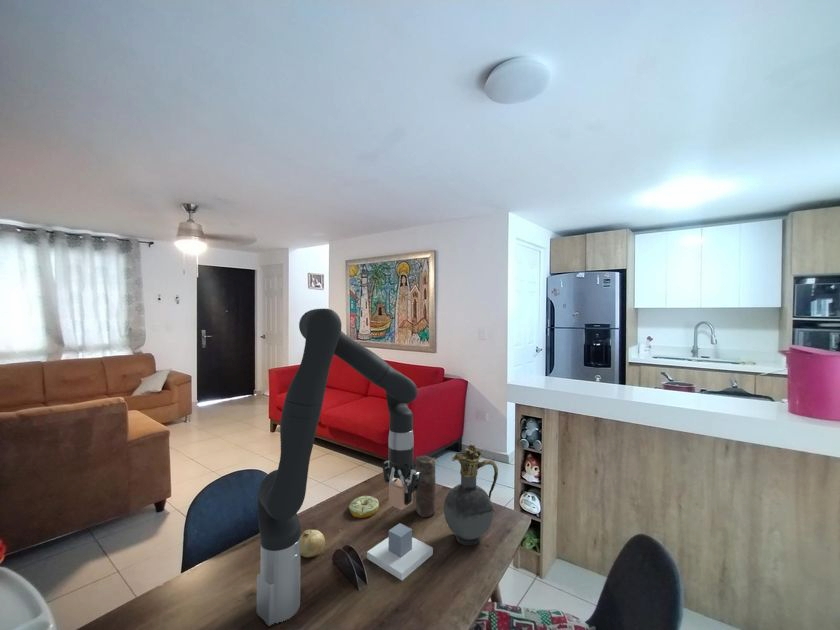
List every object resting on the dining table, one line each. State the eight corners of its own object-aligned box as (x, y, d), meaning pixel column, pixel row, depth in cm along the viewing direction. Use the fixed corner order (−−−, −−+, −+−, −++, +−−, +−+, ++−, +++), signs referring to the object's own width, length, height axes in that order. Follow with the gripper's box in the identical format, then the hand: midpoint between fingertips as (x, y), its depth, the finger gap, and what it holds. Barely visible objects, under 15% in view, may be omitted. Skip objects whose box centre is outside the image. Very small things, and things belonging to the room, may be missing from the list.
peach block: (401, 510, 105) (401, 489, 105) (388, 504, 108) (389, 484, 108) (412, 503, 109) (412, 483, 109) (400, 497, 112) (400, 478, 112)
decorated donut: (343, 512, 133) (343, 502, 133) (365, 500, 141) (365, 491, 141) (362, 523, 126) (362, 512, 126) (384, 510, 134) (384, 500, 134)
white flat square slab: (402, 580, 99) (402, 573, 99) (366, 558, 108) (367, 551, 108) (432, 554, 110) (432, 547, 110) (398, 536, 118) (398, 530, 118)
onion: (312, 541, 116) (312, 519, 115) (330, 550, 111) (330, 527, 111) (291, 555, 109) (292, 532, 109) (310, 565, 105) (310, 541, 105)
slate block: (400, 557, 105) (401, 537, 105) (388, 550, 108) (388, 530, 108) (411, 549, 109) (412, 529, 109) (399, 542, 112) (399, 523, 112)
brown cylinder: (412, 509, 135) (412, 455, 135) (430, 504, 138) (430, 452, 138) (421, 519, 128) (421, 463, 128) (439, 514, 131) (439, 459, 131)
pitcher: (439, 534, 119) (439, 444, 119) (487, 521, 127) (488, 436, 127) (454, 555, 109) (455, 456, 109) (506, 540, 117) (507, 447, 117)
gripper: (375, 442, 110) (374, 497, 110) (411, 454, 101) (410, 514, 101) (392, 435, 116) (391, 488, 116) (427, 446, 107) (427, 503, 107)
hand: (400, 500), depth 108 cm, fingers closed on peach block, 5 cm apart
